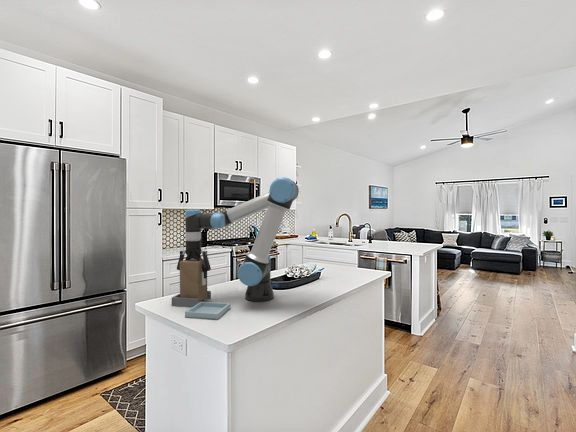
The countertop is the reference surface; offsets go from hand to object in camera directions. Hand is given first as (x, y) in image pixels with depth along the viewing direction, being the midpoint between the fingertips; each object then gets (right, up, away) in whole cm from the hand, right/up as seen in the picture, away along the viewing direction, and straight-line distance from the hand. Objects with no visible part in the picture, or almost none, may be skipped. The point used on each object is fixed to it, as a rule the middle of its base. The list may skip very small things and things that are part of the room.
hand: (193, 284), depth 156 cm
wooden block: (0, -8, 0) cm, 8 cm away
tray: (+11, -10, -16) cm, 22 cm away
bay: (-1, -9, 0) cm, 9 cm away
